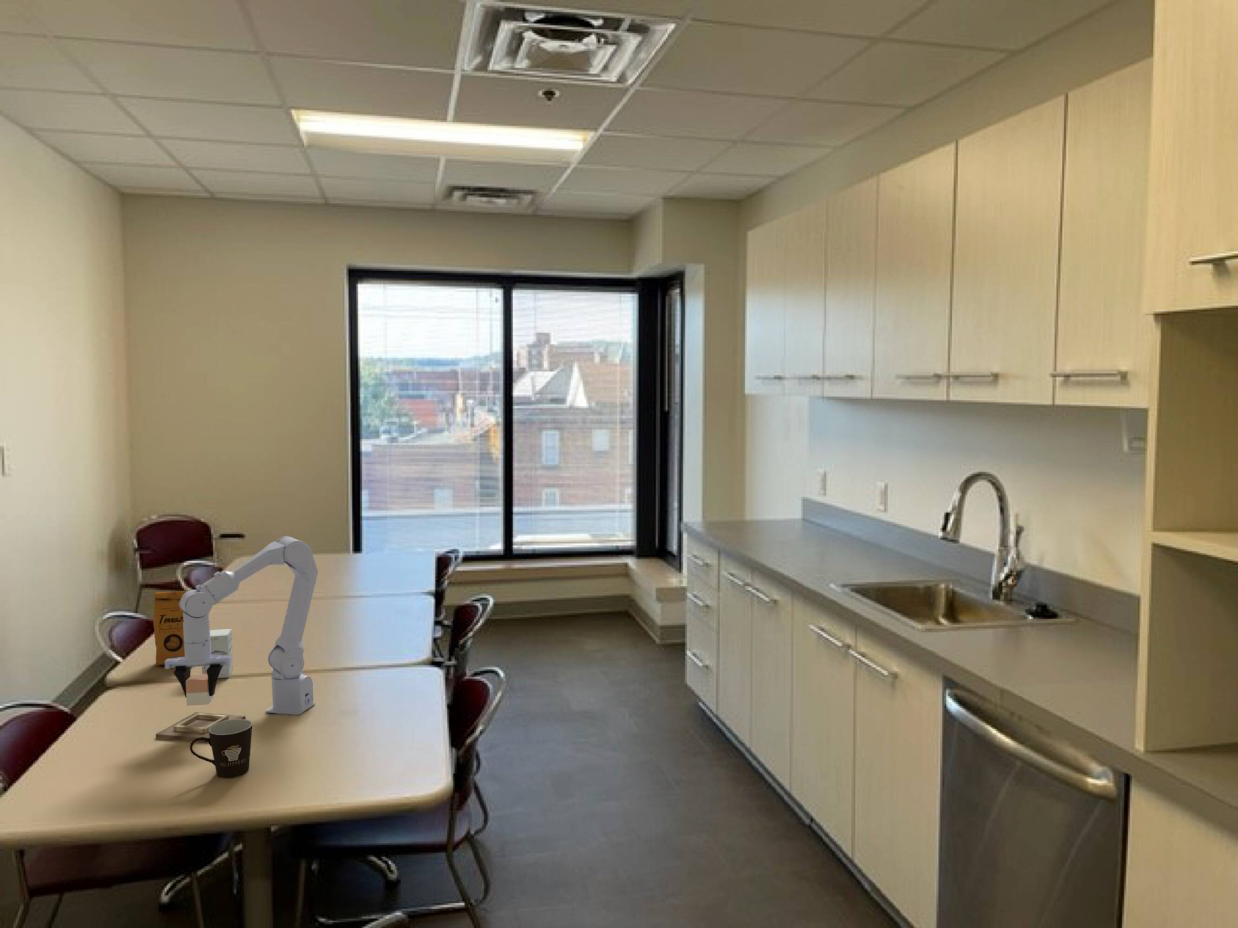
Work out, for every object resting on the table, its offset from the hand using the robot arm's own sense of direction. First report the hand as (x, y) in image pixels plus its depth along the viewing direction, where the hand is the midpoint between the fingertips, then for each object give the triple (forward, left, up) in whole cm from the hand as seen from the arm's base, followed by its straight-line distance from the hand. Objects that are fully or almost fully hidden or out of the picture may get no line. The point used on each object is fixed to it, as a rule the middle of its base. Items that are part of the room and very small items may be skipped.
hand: (200, 695), depth 210 cm
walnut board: (0, 0, -8) cm, 8 cm away
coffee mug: (-21, +20, -8) cm, 30 cm away
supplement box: (+22, -36, -9) cm, 43 cm away
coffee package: (+41, -44, -9) cm, 61 cm away
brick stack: (0, 0, -2) cm, 2 cm away
